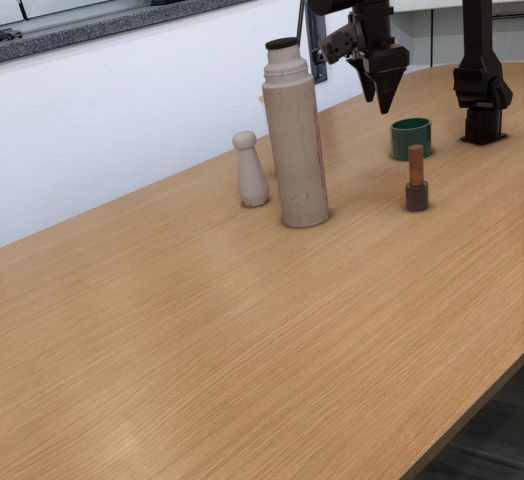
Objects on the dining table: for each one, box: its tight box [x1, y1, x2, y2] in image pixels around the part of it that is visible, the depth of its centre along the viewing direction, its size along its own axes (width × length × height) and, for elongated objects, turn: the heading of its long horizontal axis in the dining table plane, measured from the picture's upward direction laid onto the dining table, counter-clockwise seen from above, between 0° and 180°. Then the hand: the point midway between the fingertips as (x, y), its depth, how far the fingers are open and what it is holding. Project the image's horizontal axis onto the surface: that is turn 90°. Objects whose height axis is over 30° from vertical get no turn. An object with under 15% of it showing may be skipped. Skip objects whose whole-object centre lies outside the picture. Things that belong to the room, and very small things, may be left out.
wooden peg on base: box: [404, 145, 430, 212], centre depth 96 cm, size 4×4×10 cm
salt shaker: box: [231, 130, 270, 208], centre depth 110 cm, size 6×6×13 cm
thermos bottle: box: [261, 36, 330, 228], centre depth 96 cm, size 8×8×28 cm
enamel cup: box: [389, 116, 433, 162], centre depth 119 cm, size 8×8×6 cm
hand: (376, 107), depth 100 cm, fingers open, 9 cm apart
